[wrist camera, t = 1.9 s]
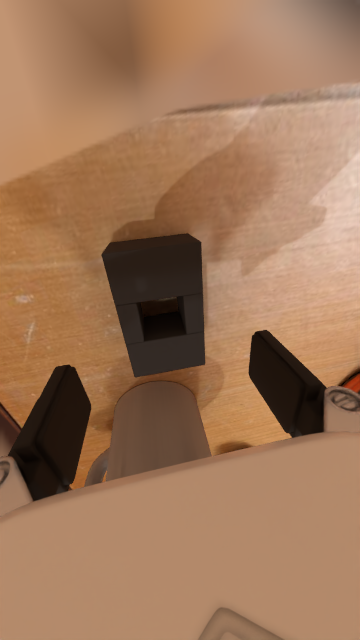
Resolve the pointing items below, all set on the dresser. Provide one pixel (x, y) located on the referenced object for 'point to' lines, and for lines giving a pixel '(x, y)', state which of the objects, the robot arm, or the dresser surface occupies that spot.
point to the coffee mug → (152, 432)
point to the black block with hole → (152, 284)
